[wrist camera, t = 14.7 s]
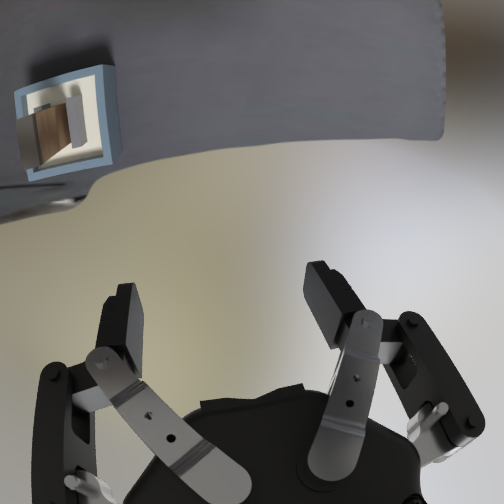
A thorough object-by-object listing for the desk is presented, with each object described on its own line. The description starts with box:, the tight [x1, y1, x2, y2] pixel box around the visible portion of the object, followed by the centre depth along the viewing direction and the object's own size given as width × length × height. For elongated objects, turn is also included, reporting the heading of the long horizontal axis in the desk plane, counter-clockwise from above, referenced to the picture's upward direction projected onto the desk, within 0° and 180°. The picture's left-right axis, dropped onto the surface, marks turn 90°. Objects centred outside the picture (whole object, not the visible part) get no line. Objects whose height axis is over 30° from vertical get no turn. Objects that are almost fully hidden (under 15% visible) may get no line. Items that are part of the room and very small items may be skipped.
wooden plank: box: [15, 103, 71, 170], centre depth 24 cm, size 5×2×10 cm, turn 0°
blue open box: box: [14, 64, 122, 182], centre depth 29 cm, size 12×12×8 cm
